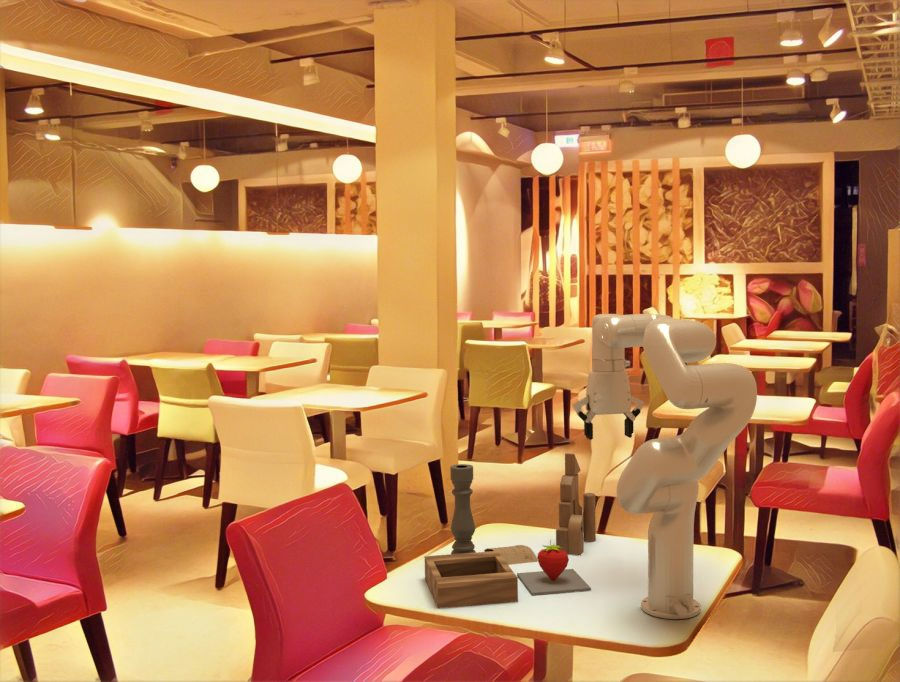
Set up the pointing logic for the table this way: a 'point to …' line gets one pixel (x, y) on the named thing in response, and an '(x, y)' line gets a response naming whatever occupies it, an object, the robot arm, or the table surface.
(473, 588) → the wooden box
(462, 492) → the candle holder
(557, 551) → the strawberry
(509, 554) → the clay tablet
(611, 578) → the table surface
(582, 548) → the wooden toy
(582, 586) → the mat
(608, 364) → the robot arm
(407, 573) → the table surface
